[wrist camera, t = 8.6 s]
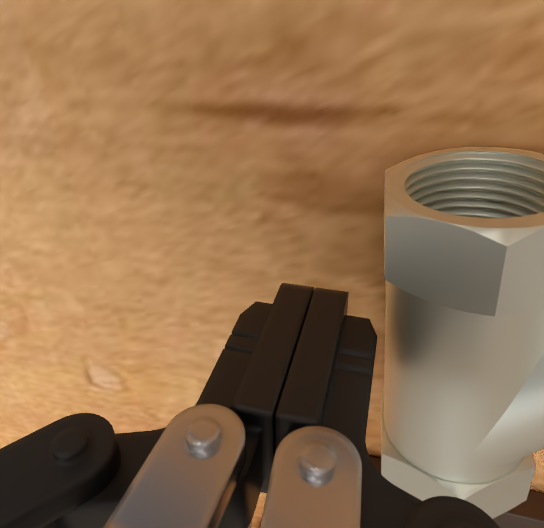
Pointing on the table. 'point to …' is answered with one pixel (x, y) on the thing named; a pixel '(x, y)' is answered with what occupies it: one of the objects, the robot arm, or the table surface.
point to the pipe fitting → (464, 325)
